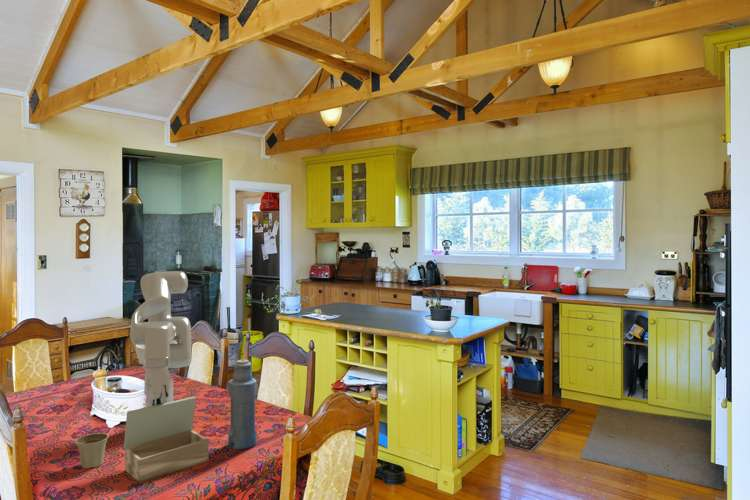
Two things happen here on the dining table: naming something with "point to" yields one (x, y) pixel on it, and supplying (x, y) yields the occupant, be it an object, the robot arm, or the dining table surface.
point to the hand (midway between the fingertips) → (158, 417)
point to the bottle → (242, 407)
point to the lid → (159, 421)
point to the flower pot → (92, 449)
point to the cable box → (166, 455)
